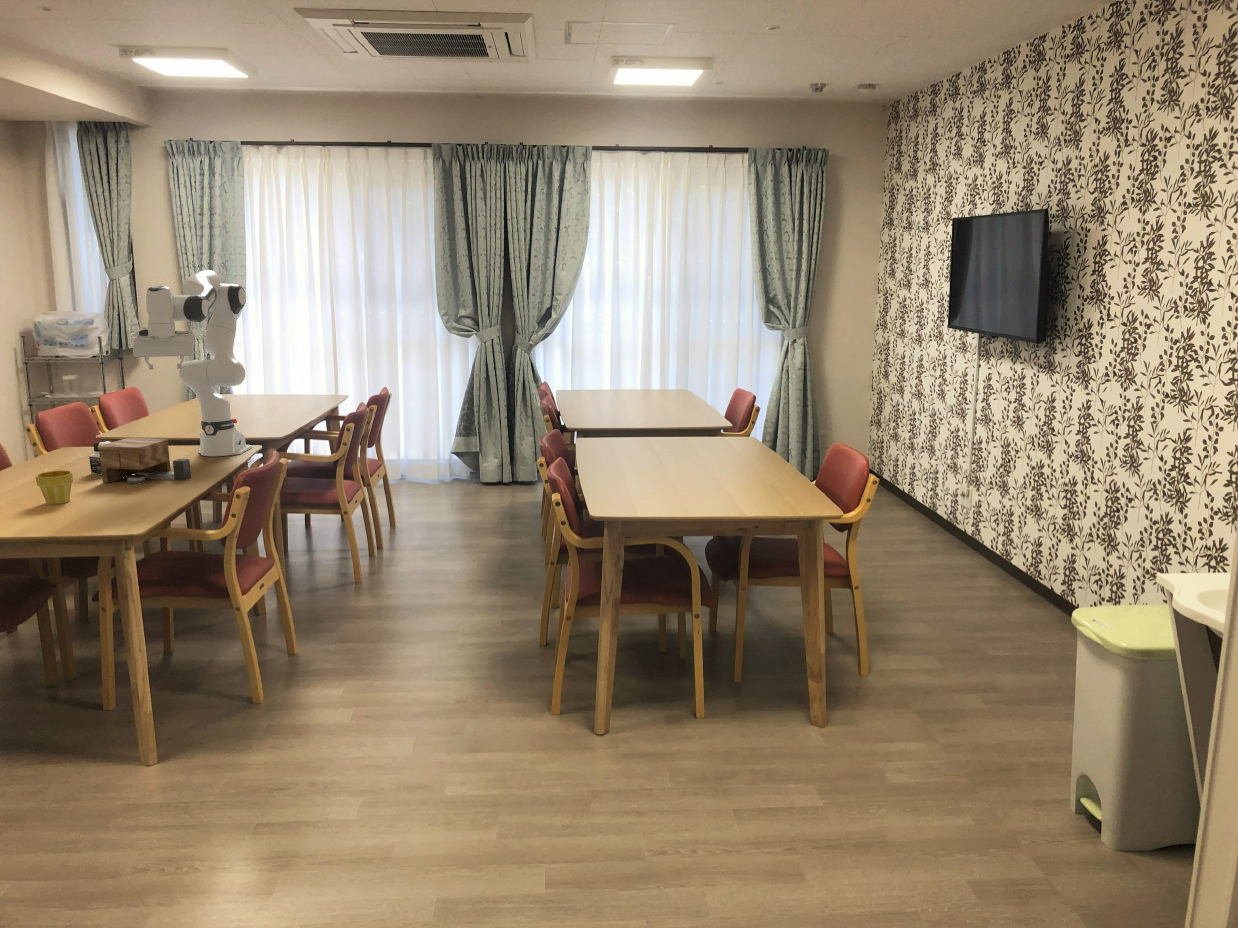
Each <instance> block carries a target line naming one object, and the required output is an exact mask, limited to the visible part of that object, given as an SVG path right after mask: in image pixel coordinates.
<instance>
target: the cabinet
mask: <svg viewBox="0 0 1238 928" xmlns="http://www.w3.org/2000/svg"><path fill="white" fill-rule="evenodd" d="M169 441H170V440H169V438H149V437H148V438H145V437H144V438H143V437H142V438H141V437H139V438H138V437H126V438H123V439H119V440H116V441H115V440H114V441H112V442H111V441H110V442H111V443H108V444H104V445H100V446H97V448H98V449H99V455H100V463H101V472H102V475H101V479H102V484H110V483H112V481H113V482H116V481H118V479H119V480H122V479H124V478H123V477H125V478H126V476H129V475H132V474H135V473H136V472H139V471H169V472H172V469H171V459H170V451H169ZM121 478H122V479H121ZM115 480H116V481H115Z"/></svg>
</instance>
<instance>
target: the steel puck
mask: <svg viewBox="0 0 1238 928" xmlns="http://www.w3.org/2000/svg"><path fill="white" fill-rule="evenodd" d="M125 479H126V484H127V483H128V484H127V485H139V483H140V484H144V483H146V482H147V480H146V479H145V475H144V474H135V475H129V476H127V477H125Z"/></svg>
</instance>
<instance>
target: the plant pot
mask: <svg viewBox="0 0 1238 928" xmlns="http://www.w3.org/2000/svg"><path fill="white" fill-rule="evenodd" d="M35 480H36V481H35V482H36V486H37V487H39V489H40V491H41V494H42V496H43V498H44V501H45V503H46V505H53V506H55V505H63V504H66V503H68V502H70V501H71V492H72V490H71V489H72V483H73V482H74V474H73V472H72V471H71V470H67V469H65V470H64V469H63V470H50V471H44V472H41V473H38V474H36V475H35Z"/></svg>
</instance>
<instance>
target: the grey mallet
mask: <svg viewBox="0 0 1238 928" xmlns="http://www.w3.org/2000/svg"><path fill="white" fill-rule="evenodd" d="M190 460H191V459H190V458H178V459H175V460H172V466H173V471H171V472H169V471H139V472H136V473H135V474H144V475H145V478H150V480H173V481H175V480H176V481H185V480H188V479H192V475H191V474H192V472H191V464H190V463H191V462H190Z"/></svg>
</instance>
